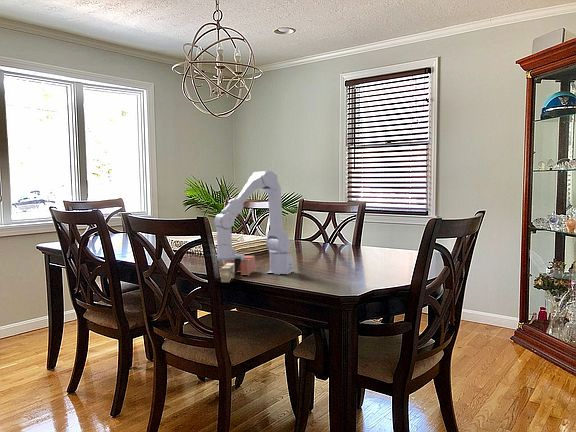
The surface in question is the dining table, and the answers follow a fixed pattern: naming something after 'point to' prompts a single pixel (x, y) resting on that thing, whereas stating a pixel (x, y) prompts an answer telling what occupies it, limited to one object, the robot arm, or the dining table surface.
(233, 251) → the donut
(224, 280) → the cream block
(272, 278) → the dining table surface
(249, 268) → the dispenser
